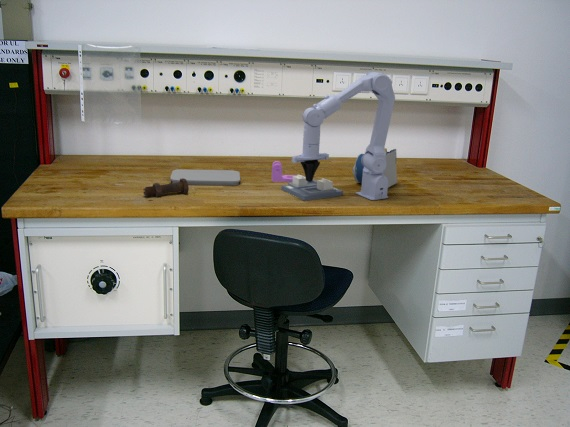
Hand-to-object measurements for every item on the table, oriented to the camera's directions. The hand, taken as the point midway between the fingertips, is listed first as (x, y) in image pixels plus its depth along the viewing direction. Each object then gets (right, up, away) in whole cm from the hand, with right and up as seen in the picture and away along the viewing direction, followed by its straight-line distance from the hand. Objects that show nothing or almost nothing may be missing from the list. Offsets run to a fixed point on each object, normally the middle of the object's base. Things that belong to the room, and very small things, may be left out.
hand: (309, 180), depth 201 cm
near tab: (+6, -3, +5) cm, 8 cm away
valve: (+26, -1, +22) cm, 34 cm away
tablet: (-39, +1, +17) cm, 43 cm away
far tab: (-3, -1, +8) cm, 9 cm away
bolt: (-50, -5, -4) cm, 51 cm away
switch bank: (+1, -4, +7) cm, 8 cm away
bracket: (-7, +1, +23) cm, 24 cm away
